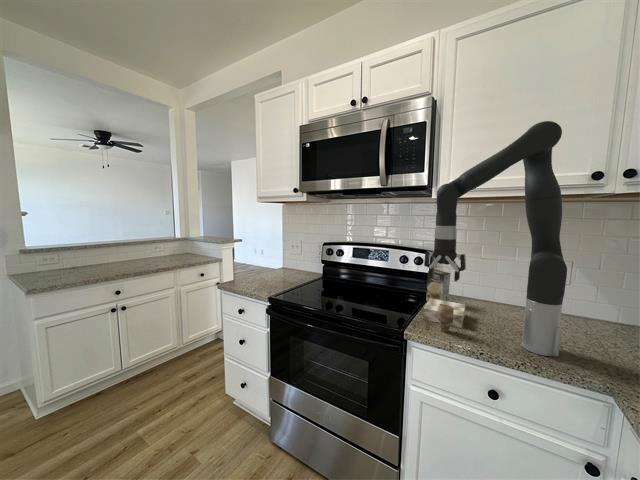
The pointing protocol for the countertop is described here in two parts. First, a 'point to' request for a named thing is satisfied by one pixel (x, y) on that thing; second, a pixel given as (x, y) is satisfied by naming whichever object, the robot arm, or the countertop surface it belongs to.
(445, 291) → the coffee box
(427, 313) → the birch block
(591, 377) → the countertop surface
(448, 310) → the walnut peg
